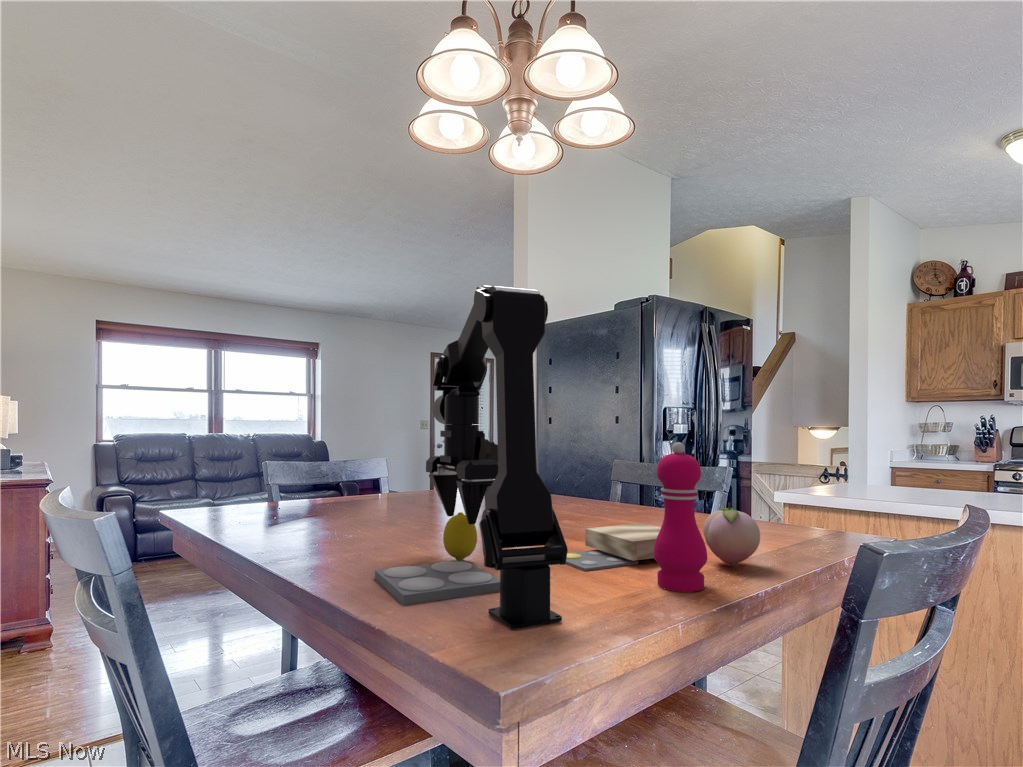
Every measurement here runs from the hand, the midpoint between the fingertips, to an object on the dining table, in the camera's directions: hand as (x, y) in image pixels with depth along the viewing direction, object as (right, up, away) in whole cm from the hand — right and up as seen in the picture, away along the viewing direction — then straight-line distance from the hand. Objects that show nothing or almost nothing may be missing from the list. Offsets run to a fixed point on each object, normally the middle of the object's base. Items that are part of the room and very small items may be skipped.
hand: (460, 519), depth 94 cm
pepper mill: (+32, -6, -14) cm, 35 cm away
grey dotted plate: (+22, -7, +1) cm, 23 cm away
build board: (-2, -6, -14) cm, 15 cm away
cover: (+30, -7, +5) cm, 32 cm away
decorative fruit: (+44, -7, -2) cm, 44 cm away
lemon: (0, -7, 0) cm, 7 cm away
